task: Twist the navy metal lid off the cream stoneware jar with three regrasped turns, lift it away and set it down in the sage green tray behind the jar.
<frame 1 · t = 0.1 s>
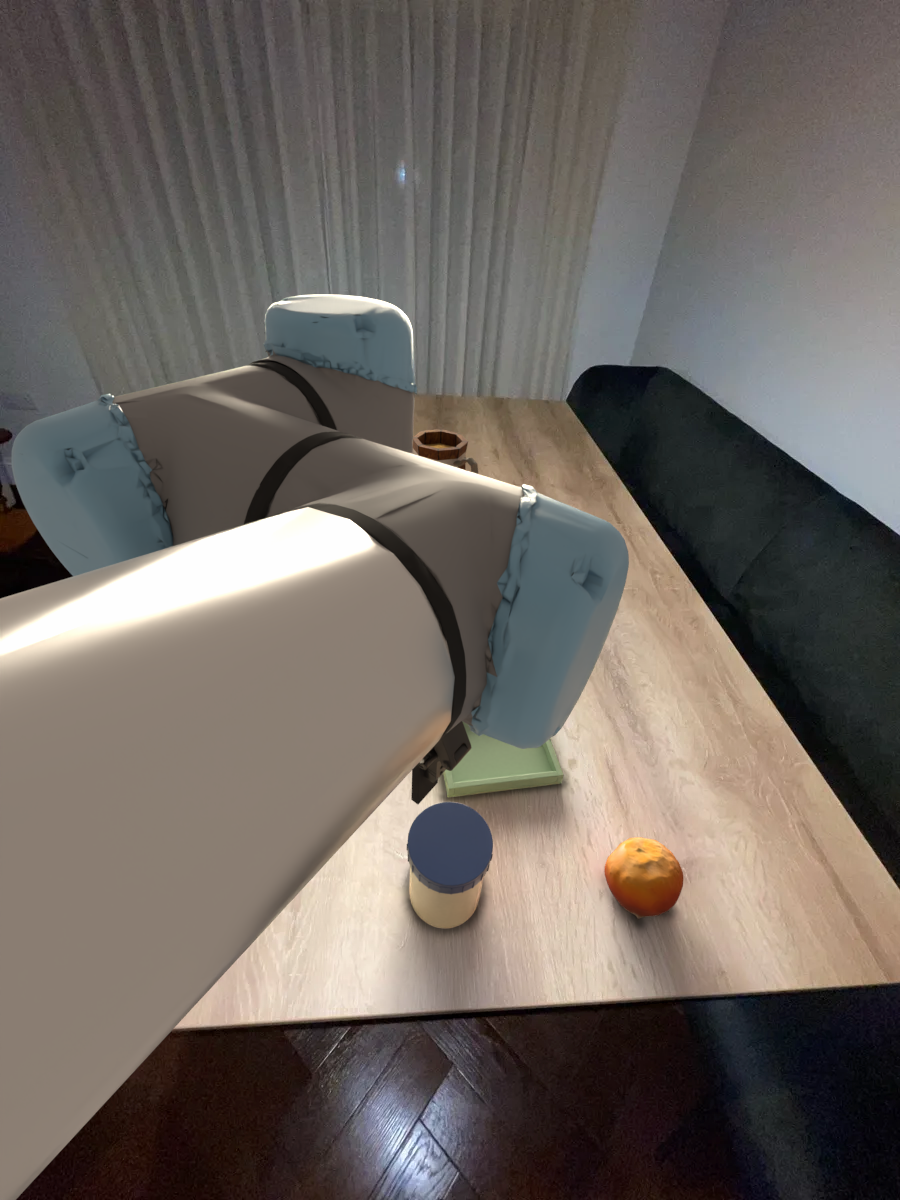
hand: (367, 749, 49), 21 cm above the table, tool pointing down, fingers open, 13 cm apart
tray: (493, 748, 75), on the table
lid: (450, 843, 53), point 11 cm above the table, screwed on, not yet turned
fruit: (634, 889, 61), on the table
mug: (444, 501, 133), on the table
jar: (444, 889, 60), on the table
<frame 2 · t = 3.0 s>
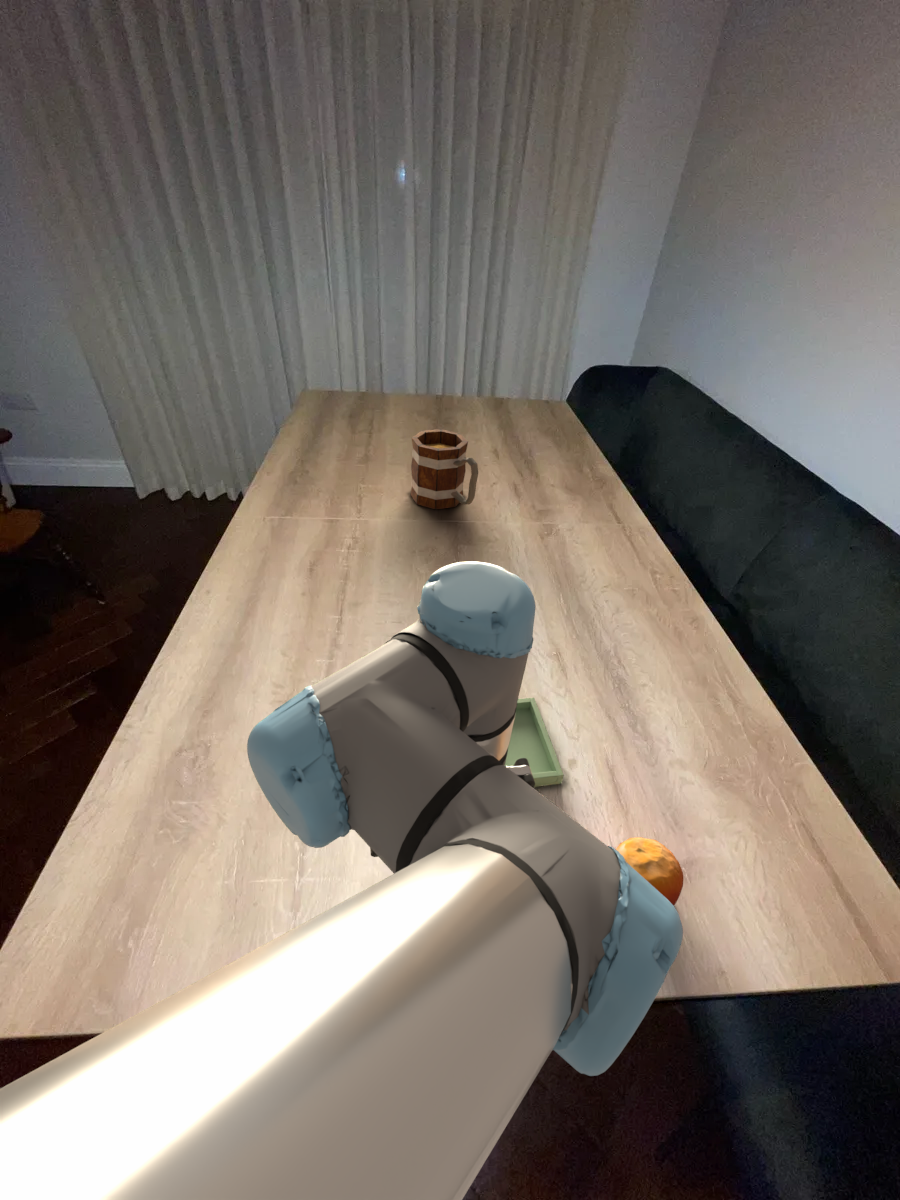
hand: (447, 868, 57), 5 cm above the table, tool pointing down, fingers closed on lid, 9 cm apart
lid: (450, 843, 53), point 11 cm above the table, screwed on, not yet turned, touching gripper
everything else where it was.
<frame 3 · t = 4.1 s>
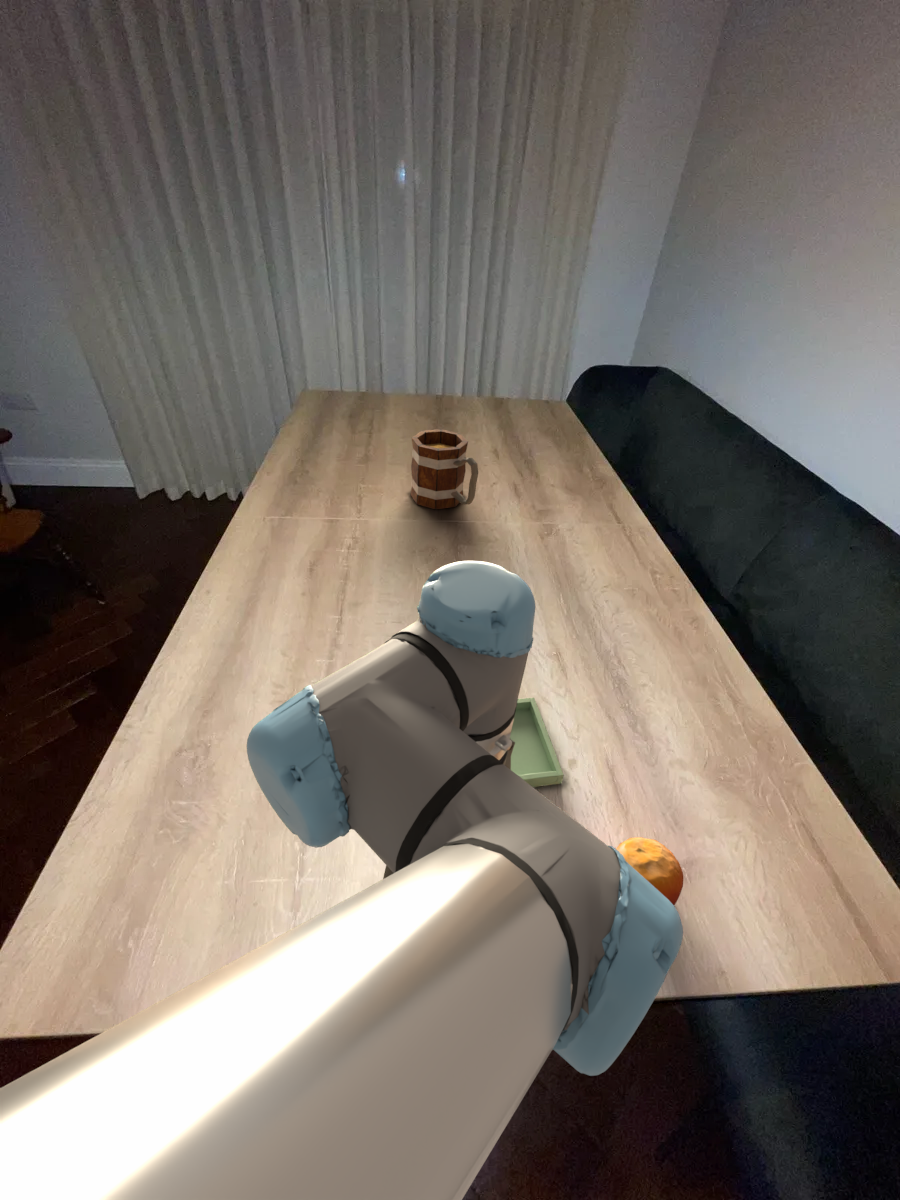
hand: (447, 867, 57), 5 cm above the table, tool pointing down, fingers closed on lid, 9 cm apart
lid: (450, 842, 53), point 11 cm above the table, turned 37° so far, risen 0.1 cm, still on its thread, touching gripper
everything else where it was.
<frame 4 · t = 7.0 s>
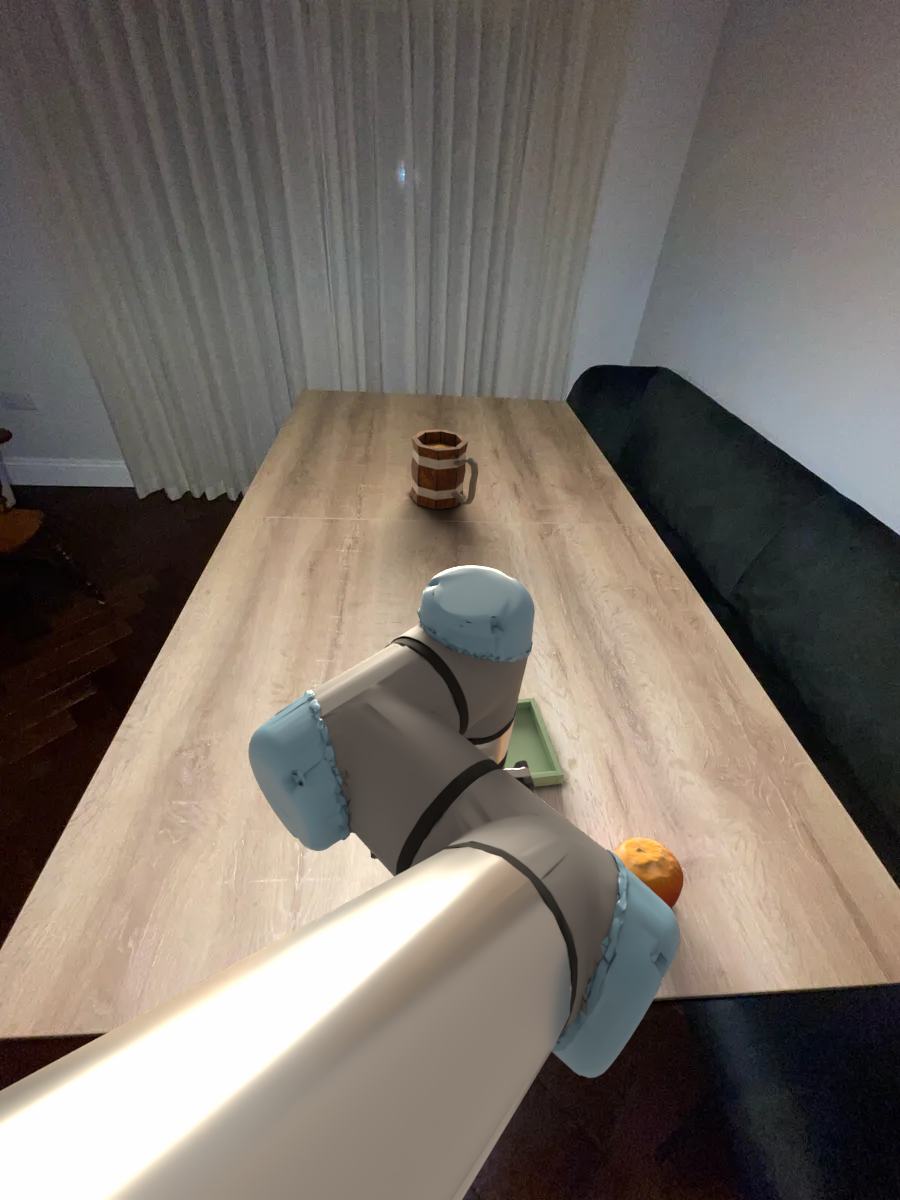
hand: (446, 869, 57), 5 cm above the table, tool pointing down, fingers closed on lid, 9 cm apart
lid: (450, 842, 53), point 11 cm above the table, turned 70° so far, risen 0.2 cm, still on its thread, touching gripper
everything else where it was.
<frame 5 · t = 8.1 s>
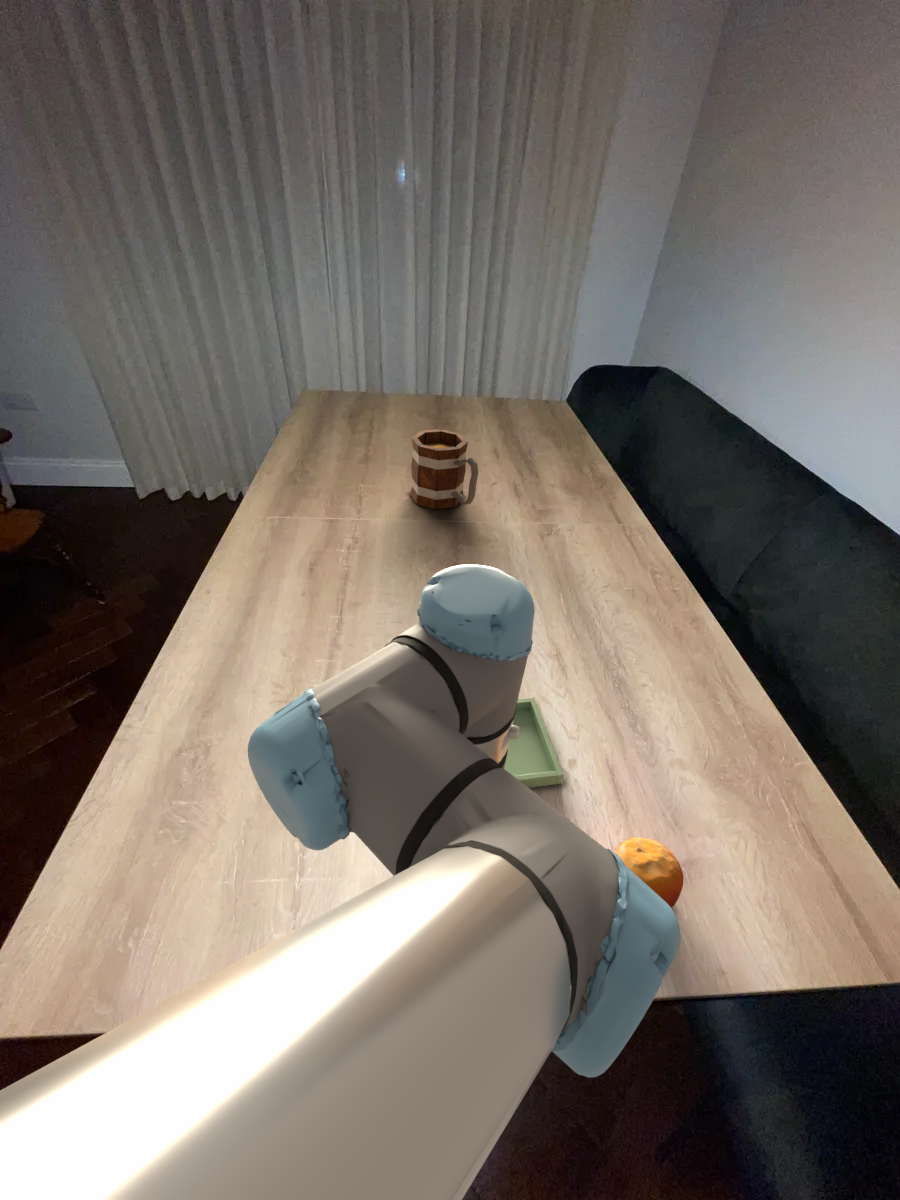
hand: (447, 869, 57), 5 cm above the table, tool pointing down, fingers closed on lid, 9 cm apart
lid: (450, 841, 53), point 11 cm above the table, turned 131° so far, risen 0.4 cm, still on its thread, touching gripper
everything else where it was.
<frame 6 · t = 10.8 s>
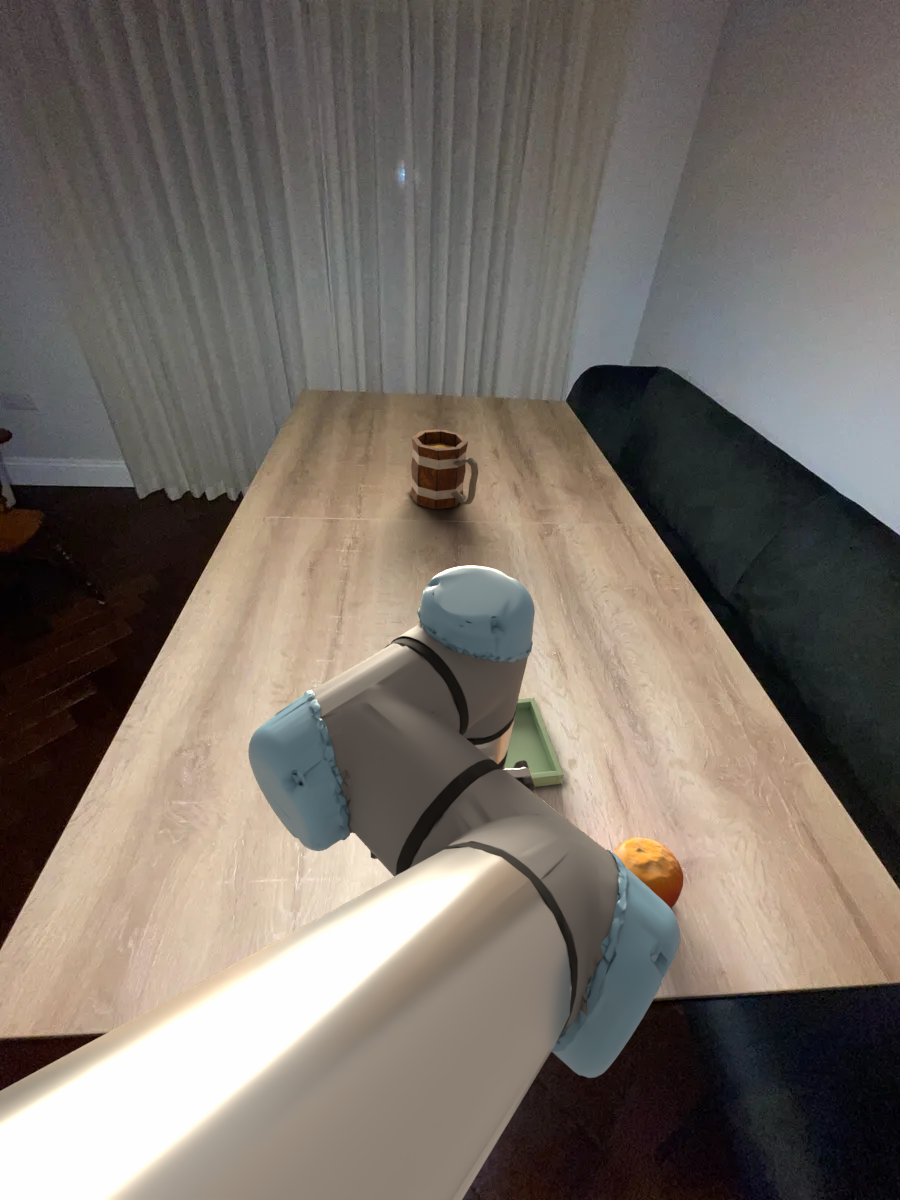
hand: (446, 869, 57), 5 cm above the table, tool pointing down, fingers closed on lid, 9 cm apart
lid: (450, 841, 53), point 11 cm above the table, turned 140° so far, risen 0.4 cm, still on its thread, touching gripper
everything else where it was.
when the fingers open (3 cm above the table, at t = 18.7 s): lid drops 7 cm, resting on tray.
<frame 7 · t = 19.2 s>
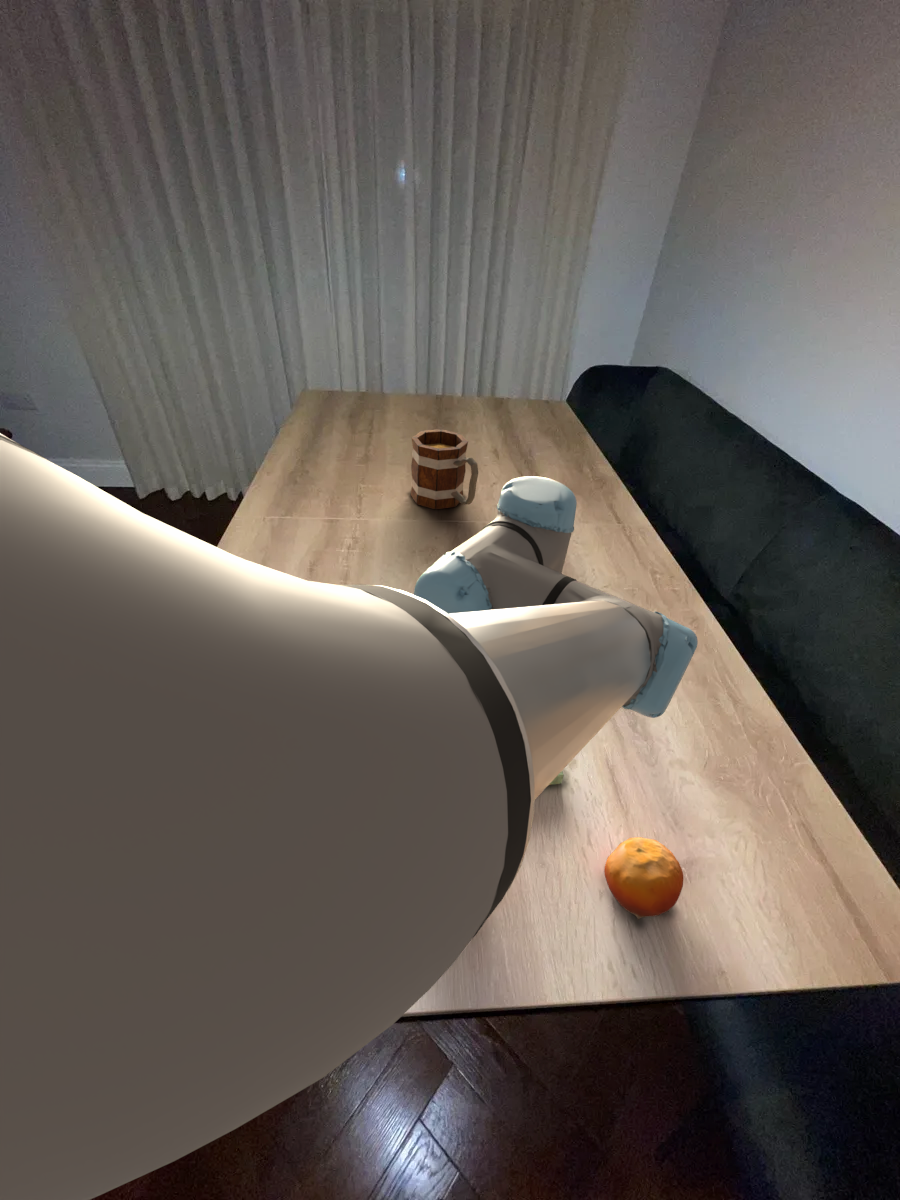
hand: (496, 730, 73), 4 cm above the table, tool pointing down, fingers open, 13 cm apart
lid: (495, 739, 74), point 2 cm above the table, off its thread, touching tray
everything else where it was.
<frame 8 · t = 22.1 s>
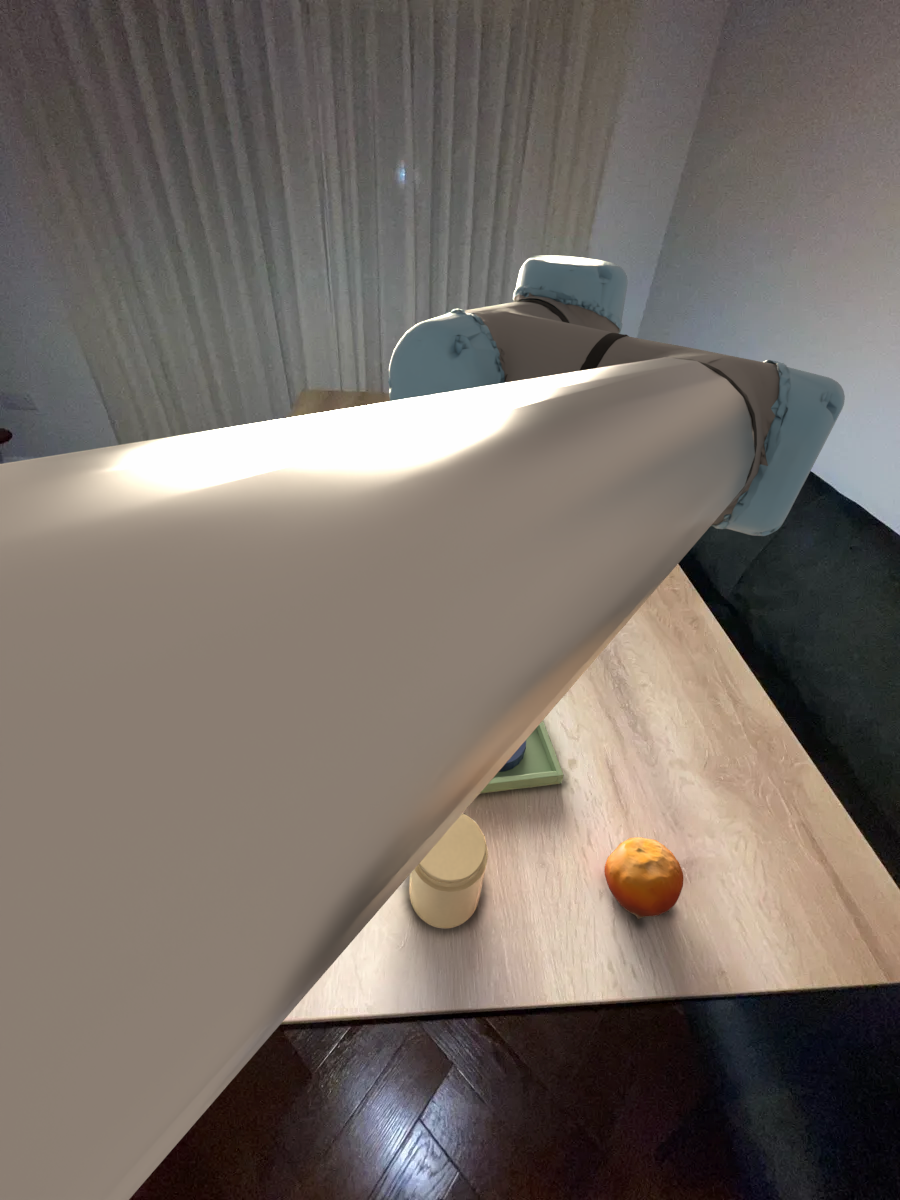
hand: (507, 654, 58), 23 cm above the table, tool pointing down, fingers open, 13 cm apart
nothing on the table moved.
at the end: lid came off its thread; lid inside the target area in the tray (0.0 cm from its centre), point 2.0 cm above the tray's base; the gripper is holding nothing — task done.
